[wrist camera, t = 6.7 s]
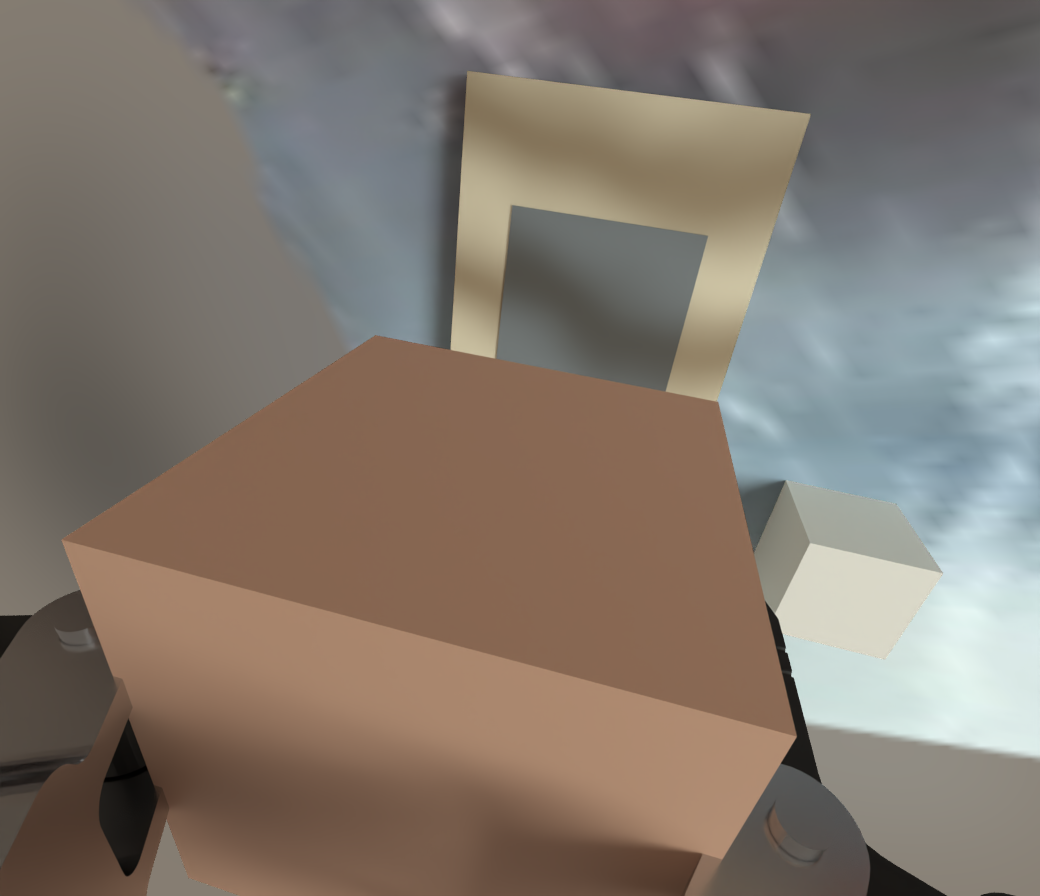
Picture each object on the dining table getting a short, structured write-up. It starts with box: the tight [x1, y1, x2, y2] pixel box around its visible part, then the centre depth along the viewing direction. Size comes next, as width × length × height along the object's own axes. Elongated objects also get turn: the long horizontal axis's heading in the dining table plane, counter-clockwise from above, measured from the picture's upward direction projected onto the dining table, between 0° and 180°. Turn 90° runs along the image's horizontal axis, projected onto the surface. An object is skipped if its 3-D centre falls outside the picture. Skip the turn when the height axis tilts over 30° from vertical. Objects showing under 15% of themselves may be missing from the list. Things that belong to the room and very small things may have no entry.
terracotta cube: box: [62, 335, 797, 896], centre depth 8 cm, size 6×6×6 cm
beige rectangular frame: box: [451, 71, 811, 402], centre depth 24 cm, size 16×12×2 cm
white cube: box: [754, 480, 943, 659], centre depth 25 cm, size 5×5×5 cm
